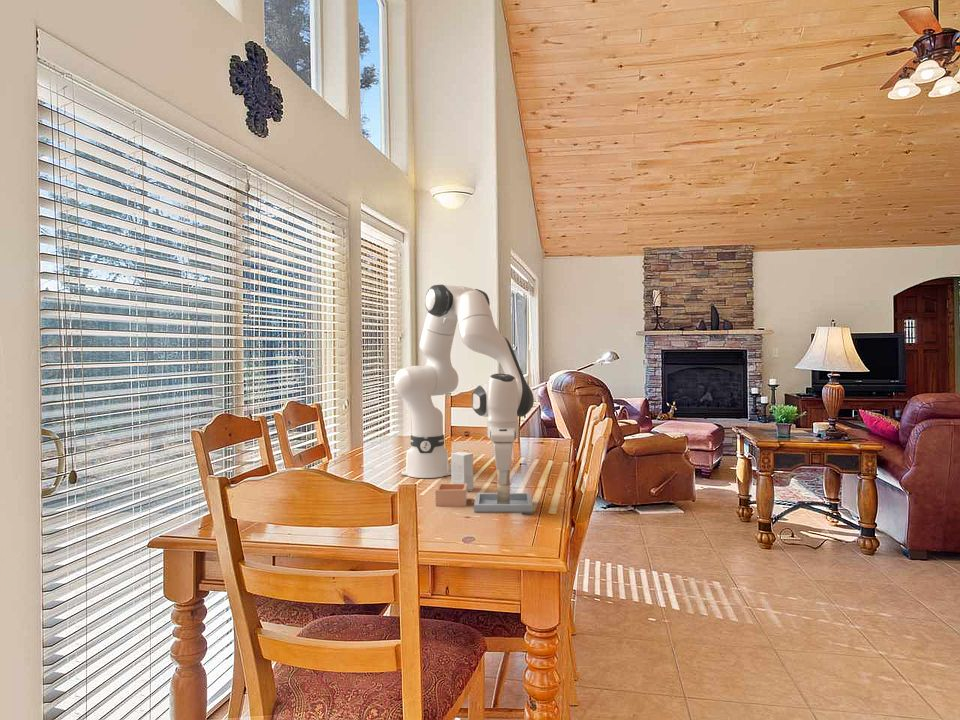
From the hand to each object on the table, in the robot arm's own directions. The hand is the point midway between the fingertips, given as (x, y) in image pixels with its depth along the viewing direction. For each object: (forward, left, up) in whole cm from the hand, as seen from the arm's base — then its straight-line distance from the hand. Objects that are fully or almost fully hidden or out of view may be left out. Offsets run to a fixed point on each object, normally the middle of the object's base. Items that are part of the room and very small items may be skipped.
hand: (503, 480), depth 179 cm
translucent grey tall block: (0, 0, -7) cm, 7 cm away
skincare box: (-20, -13, -8) cm, 25 cm away
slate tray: (0, 0, -8) cm, 8 cm away
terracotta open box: (-4, -15, -8) cm, 17 cm away
